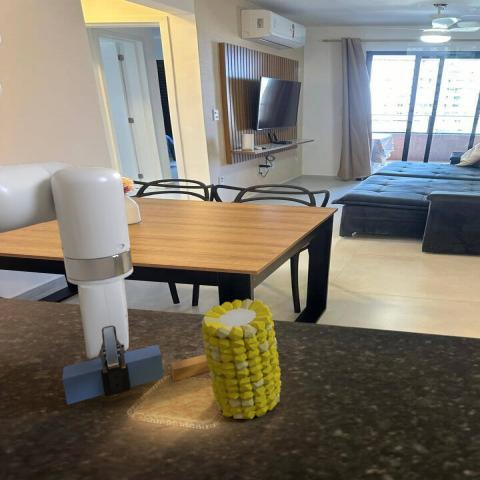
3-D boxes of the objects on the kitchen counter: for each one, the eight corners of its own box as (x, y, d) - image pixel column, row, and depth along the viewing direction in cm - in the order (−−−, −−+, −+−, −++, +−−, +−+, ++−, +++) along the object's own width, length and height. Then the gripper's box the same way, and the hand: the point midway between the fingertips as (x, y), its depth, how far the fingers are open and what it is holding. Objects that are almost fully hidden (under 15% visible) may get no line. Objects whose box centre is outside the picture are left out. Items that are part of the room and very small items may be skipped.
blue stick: (160, 367, 59) (158, 344, 58) (163, 378, 56) (161, 354, 55) (68, 391, 53) (63, 366, 52) (67, 404, 50) (62, 378, 49)
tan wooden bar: (174, 381, 58) (172, 370, 57) (171, 374, 59) (170, 363, 59) (249, 359, 64) (249, 349, 63) (245, 353, 65) (245, 343, 65)
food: (285, 425, 52) (209, 437, 50) (277, 359, 62) (213, 367, 60) (282, 343, 44) (193, 354, 43) (274, 284, 54) (201, 290, 53)
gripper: (68, 250, 54) (87, 362, 59) (61, 292, 41) (86, 432, 46) (126, 243, 58) (139, 349, 63) (138, 280, 44) (153, 411, 50)
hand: (117, 383), depth 54 cm, fingers closed on blue stick, 3 cm apart
